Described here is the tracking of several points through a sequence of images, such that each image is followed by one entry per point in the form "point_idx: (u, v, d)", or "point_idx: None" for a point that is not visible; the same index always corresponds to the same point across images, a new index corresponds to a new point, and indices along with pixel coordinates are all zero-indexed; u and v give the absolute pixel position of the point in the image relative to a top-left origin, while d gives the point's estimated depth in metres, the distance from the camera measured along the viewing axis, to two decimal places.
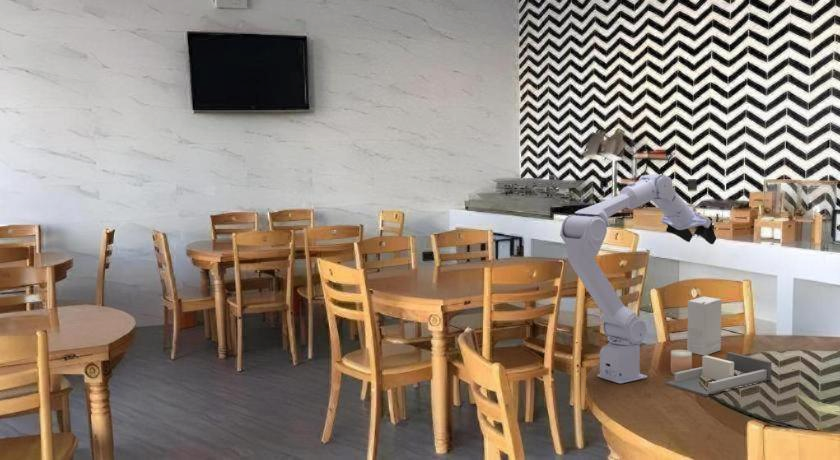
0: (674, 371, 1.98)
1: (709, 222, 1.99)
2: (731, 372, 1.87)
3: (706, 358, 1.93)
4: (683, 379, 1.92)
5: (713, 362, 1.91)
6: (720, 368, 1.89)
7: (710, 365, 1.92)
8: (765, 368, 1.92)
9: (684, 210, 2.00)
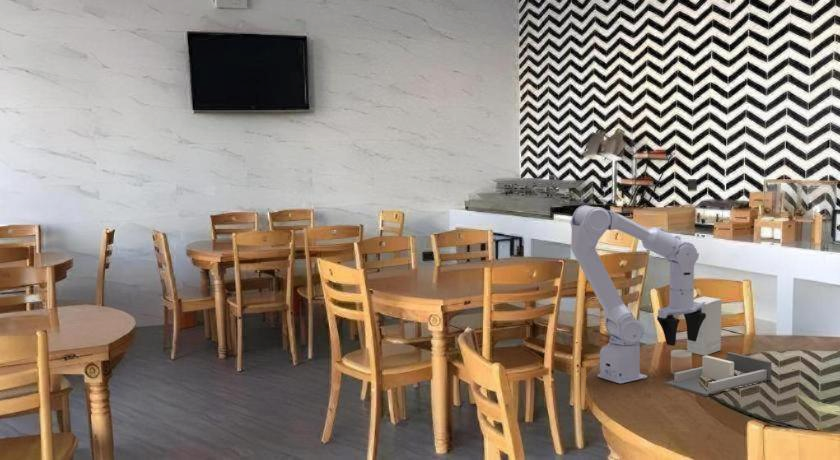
0: (674, 371, 1.98)
1: (661, 315, 1.95)
2: (731, 372, 1.87)
3: (706, 358, 1.93)
4: (683, 379, 1.92)
5: (713, 362, 1.91)
6: (720, 368, 1.89)
7: (710, 365, 1.92)
8: (765, 368, 1.92)
9: (673, 293, 1.97)
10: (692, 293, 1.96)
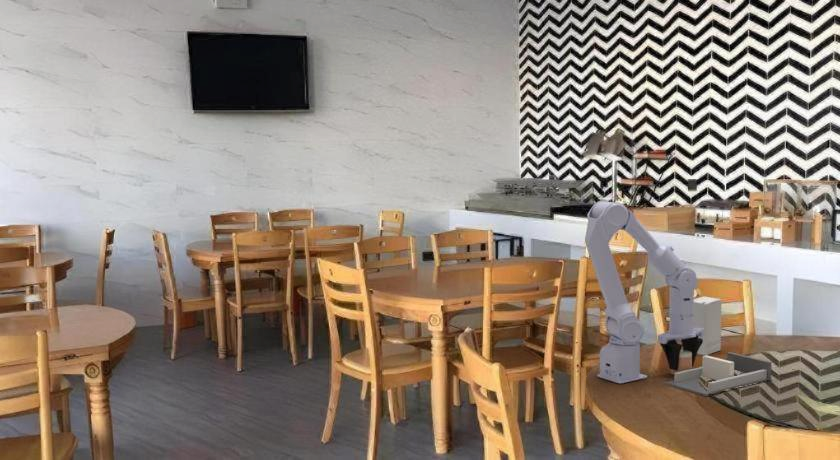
0: (674, 371, 1.98)
1: (661, 341, 1.95)
2: (731, 372, 1.87)
3: (706, 358, 1.93)
4: (683, 379, 1.92)
5: (713, 362, 1.91)
6: (720, 368, 1.89)
7: (710, 365, 1.92)
8: (765, 368, 1.92)
9: (673, 318, 1.97)
10: (692, 319, 1.97)
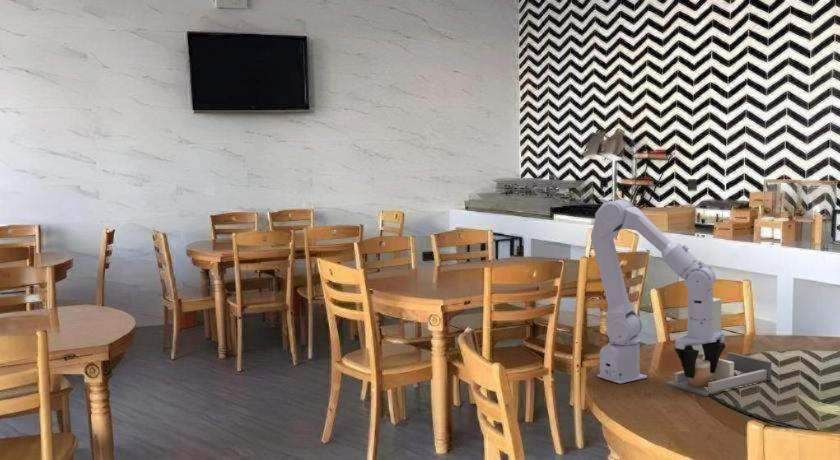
0: (690, 382, 1.87)
1: (679, 346, 1.83)
2: (731, 372, 1.87)
3: None
4: (683, 379, 1.92)
5: None
6: (720, 368, 1.89)
7: None
8: (765, 368, 1.92)
9: (691, 322, 1.85)
10: (712, 322, 1.85)
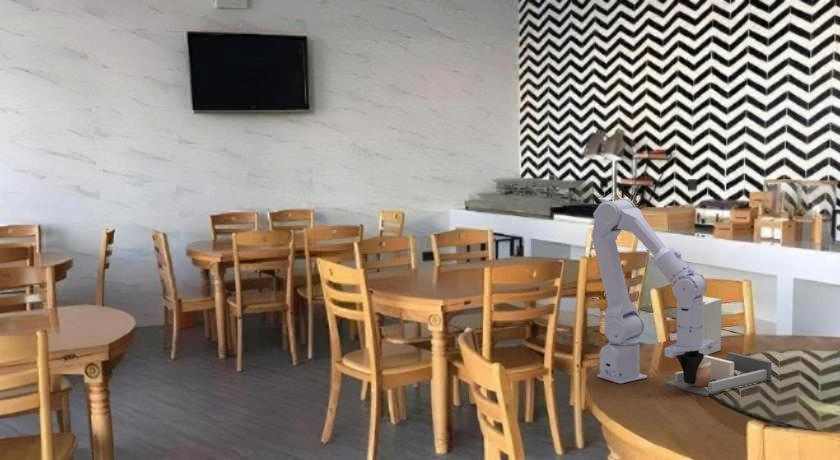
0: None
1: (668, 354, 1.81)
2: (731, 372, 1.87)
3: (706, 358, 1.93)
4: (683, 379, 1.92)
5: (713, 362, 1.91)
6: (720, 368, 1.89)
7: None
8: (765, 368, 1.92)
9: (681, 330, 1.83)
10: (701, 330, 1.83)
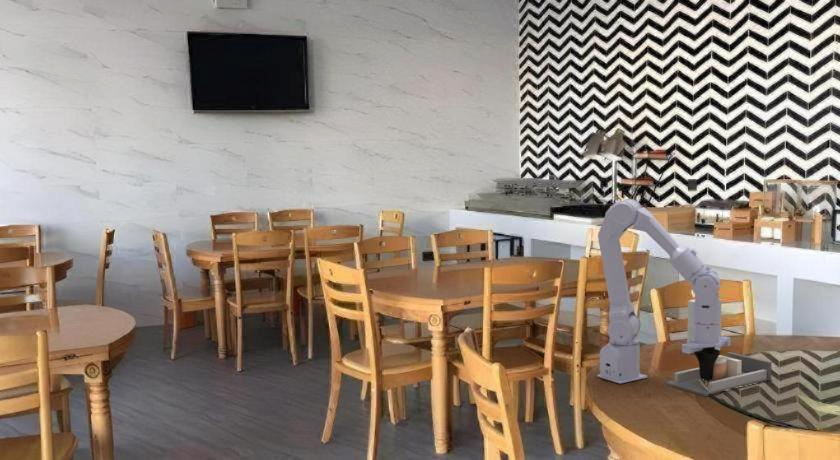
0: None
1: (686, 350, 1.84)
2: (738, 370, 1.89)
3: None
4: (683, 379, 1.92)
5: None
6: (727, 366, 1.91)
7: None
8: (765, 368, 1.92)
9: (698, 327, 1.86)
10: (718, 327, 1.86)
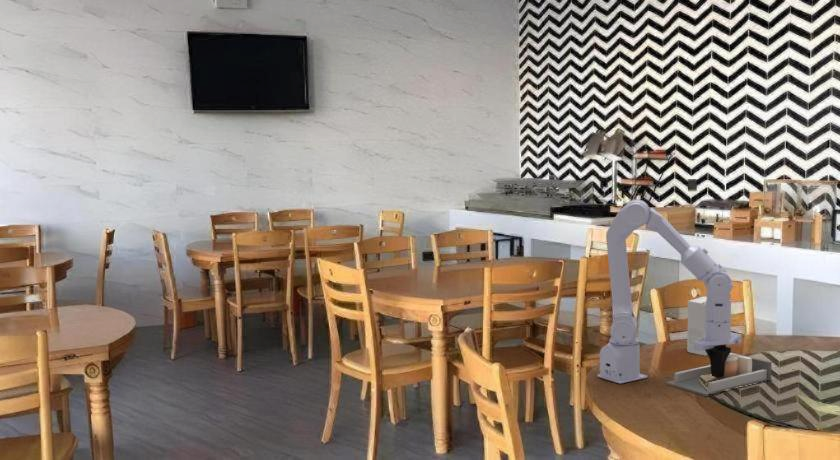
0: None
1: (698, 348, 1.86)
2: (749, 368, 1.90)
3: None
4: (683, 379, 1.92)
5: None
6: (738, 364, 1.92)
7: None
8: (765, 368, 1.92)
9: (709, 324, 1.88)
10: (729, 325, 1.88)
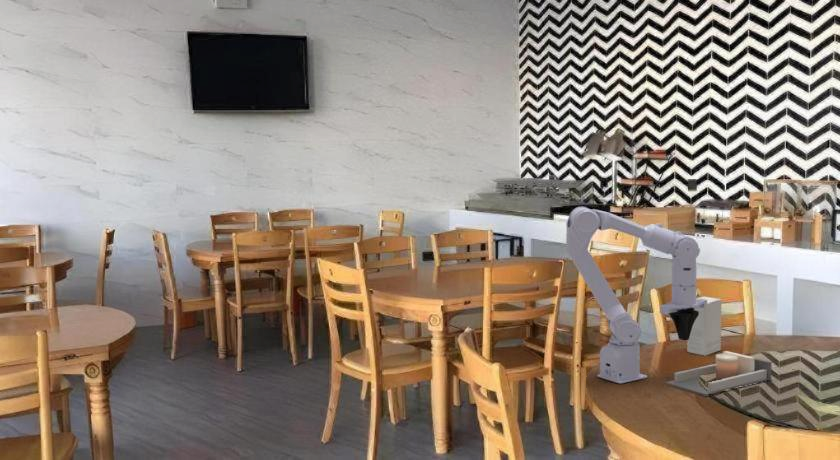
0: (718, 375, 1.92)
1: (663, 311, 1.91)
2: (751, 367, 1.91)
3: None
4: (683, 379, 1.92)
5: None
6: (741, 363, 1.93)
7: None
8: (765, 368, 1.92)
9: (675, 288, 1.93)
10: (695, 289, 1.93)
